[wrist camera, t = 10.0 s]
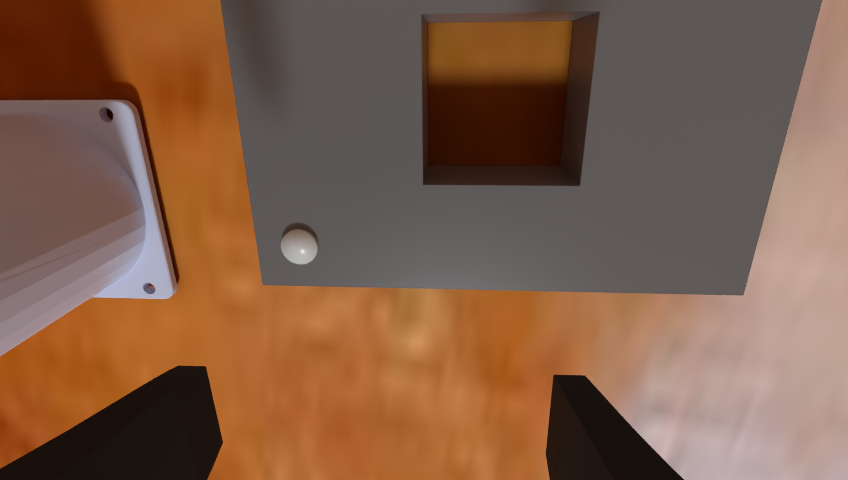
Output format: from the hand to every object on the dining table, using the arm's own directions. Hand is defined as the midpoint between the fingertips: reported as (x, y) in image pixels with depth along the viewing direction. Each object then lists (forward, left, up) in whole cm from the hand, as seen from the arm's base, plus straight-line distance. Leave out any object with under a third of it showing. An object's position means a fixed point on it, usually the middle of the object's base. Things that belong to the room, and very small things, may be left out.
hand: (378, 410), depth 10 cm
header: (+3, +6, -9) cm, 11 cm away
